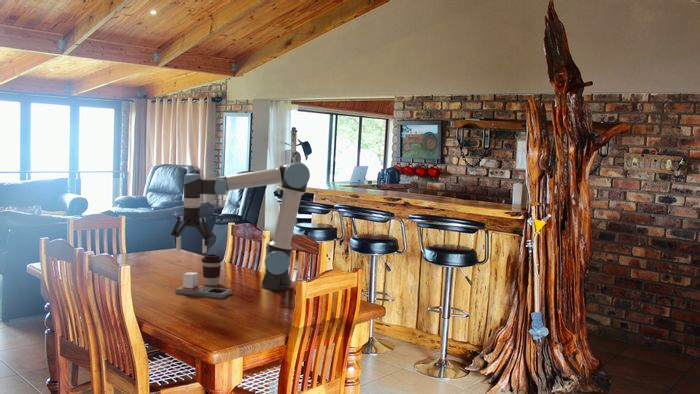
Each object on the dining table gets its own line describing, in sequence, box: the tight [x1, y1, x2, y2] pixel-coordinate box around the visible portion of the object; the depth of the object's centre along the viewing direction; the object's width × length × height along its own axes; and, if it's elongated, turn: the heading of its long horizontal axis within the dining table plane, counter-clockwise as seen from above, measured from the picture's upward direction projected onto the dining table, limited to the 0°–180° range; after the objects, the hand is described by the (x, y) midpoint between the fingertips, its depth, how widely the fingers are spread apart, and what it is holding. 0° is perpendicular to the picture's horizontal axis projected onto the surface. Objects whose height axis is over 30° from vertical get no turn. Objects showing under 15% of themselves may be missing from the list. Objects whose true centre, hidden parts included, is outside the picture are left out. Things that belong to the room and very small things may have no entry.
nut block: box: [182, 271, 199, 290], centre depth 278 cm, size 5×5×9 cm
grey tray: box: [174, 285, 233, 300], centre depth 277 cm, size 24×10×3 cm, turn 76°
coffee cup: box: [201, 253, 223, 286], centre depth 296 cm, size 10×10×15 cm
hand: (191, 251), depth 277 cm, fingers open, 13 cm apart
